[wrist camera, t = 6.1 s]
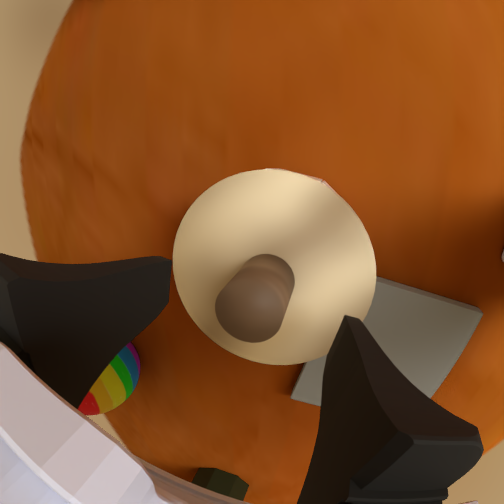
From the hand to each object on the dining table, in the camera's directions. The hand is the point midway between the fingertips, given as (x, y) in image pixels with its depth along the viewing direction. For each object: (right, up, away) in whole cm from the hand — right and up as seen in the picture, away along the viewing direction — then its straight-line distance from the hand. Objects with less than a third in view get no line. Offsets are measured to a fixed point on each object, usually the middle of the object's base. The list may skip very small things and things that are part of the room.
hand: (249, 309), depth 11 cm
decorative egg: (-14, -8, +16) cm, 23 cm away
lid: (+1, +1, +4) cm, 5 cm away
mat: (+10, -6, +8) cm, 14 cm away
